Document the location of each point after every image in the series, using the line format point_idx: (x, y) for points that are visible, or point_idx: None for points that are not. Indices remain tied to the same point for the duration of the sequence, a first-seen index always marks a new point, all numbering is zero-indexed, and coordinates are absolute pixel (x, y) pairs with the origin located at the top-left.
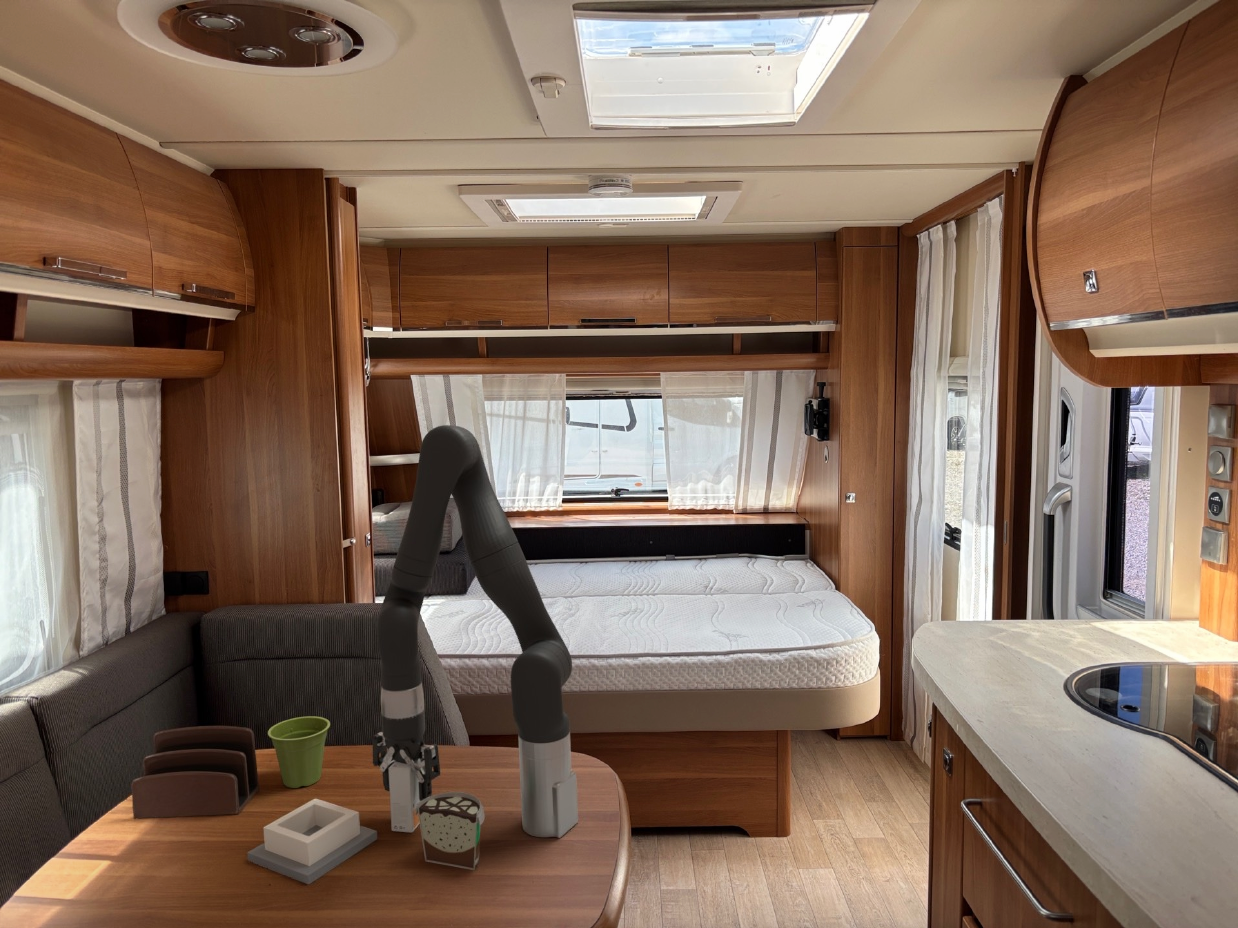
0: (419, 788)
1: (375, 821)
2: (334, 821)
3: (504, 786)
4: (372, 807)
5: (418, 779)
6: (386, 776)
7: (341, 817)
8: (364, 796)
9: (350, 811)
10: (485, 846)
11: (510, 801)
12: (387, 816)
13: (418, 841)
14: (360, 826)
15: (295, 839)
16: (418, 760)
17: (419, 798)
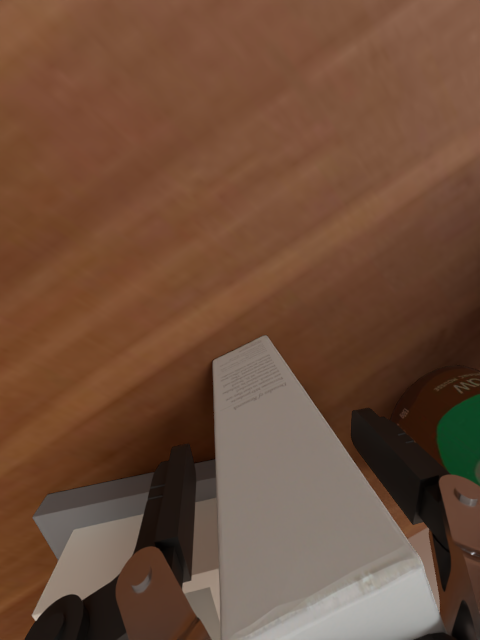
0: (390, 489)
1: (174, 421)
2: (218, 609)
3: (359, 12)
4: (96, 391)
5: (430, 544)
6: (192, 552)
7: (214, 595)
8: (4, 371)
9: (207, 576)
10: (473, 336)
11: (435, 113)
12: (177, 392)
13: (331, 407)
14: (197, 482)
15: None
16: (437, 608)
17: (359, 451)
